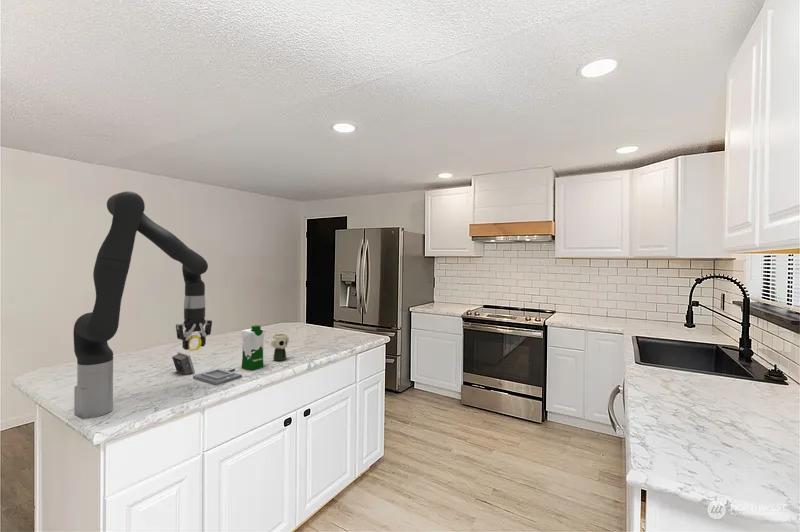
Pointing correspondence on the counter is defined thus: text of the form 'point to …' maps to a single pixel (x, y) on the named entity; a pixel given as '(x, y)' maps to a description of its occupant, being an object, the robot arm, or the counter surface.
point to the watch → (198, 344)
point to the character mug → (280, 345)
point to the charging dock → (217, 376)
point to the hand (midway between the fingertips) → (194, 347)
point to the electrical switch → (183, 363)
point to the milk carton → (252, 348)
